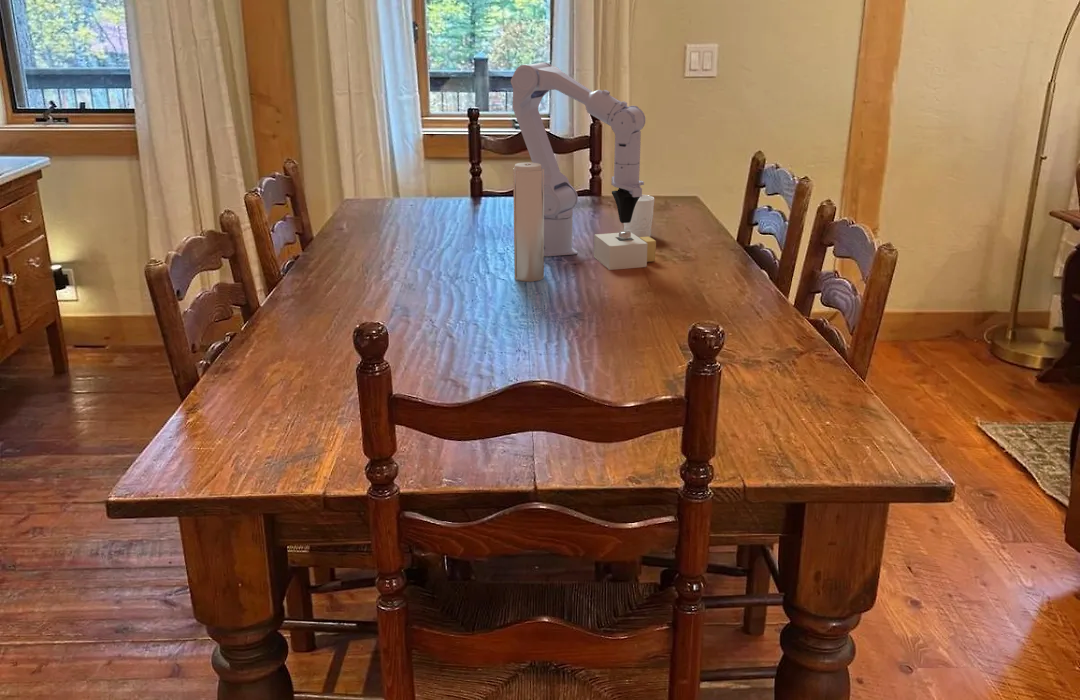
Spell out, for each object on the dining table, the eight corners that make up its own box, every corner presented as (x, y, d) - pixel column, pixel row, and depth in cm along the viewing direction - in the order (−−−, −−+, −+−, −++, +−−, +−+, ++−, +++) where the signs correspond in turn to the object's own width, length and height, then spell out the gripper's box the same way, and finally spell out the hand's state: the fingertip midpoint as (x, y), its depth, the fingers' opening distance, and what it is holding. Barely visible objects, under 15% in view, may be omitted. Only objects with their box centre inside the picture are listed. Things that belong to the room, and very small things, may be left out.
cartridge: (612, 264, 216) (613, 244, 214) (606, 259, 220) (607, 239, 218) (655, 261, 218) (655, 241, 217) (648, 256, 222) (648, 236, 221)
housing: (609, 269, 212) (609, 246, 210) (594, 257, 222) (594, 234, 220) (646, 266, 215) (647, 243, 213) (629, 254, 225) (630, 231, 223)
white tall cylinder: (540, 282, 203) (540, 167, 194) (511, 281, 205) (510, 166, 195) (546, 274, 209) (546, 161, 200) (518, 272, 210) (516, 160, 201)
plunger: (620, 242, 215) (621, 234, 215) (616, 239, 218) (617, 231, 217) (632, 241, 216) (632, 233, 215) (628, 238, 219) (628, 230, 218)
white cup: (652, 232, 244) (654, 194, 241) (652, 240, 237) (654, 201, 233) (622, 232, 245) (623, 194, 241) (621, 239, 238) (622, 200, 234)
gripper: (655, 167, 205) (653, 228, 210) (632, 156, 218) (630, 214, 223) (625, 169, 203) (623, 230, 208) (603, 158, 216) (602, 216, 221)
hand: (625, 222), depth 215 cm, fingers closed
